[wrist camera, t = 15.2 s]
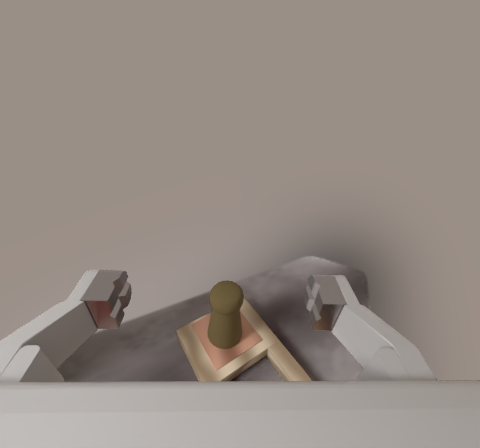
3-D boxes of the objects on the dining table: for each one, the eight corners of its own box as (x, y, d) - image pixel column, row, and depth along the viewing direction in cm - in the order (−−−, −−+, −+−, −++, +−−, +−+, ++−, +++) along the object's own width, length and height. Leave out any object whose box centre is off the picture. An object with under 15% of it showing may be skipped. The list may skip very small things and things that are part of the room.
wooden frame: (249, 486, 29) (251, 481, 28) (177, 337, 44) (176, 329, 42) (326, 409, 36) (331, 402, 35) (241, 303, 51) (242, 294, 49)
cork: (199, 335, 42) (197, 293, 35) (221, 310, 46) (223, 269, 39) (228, 356, 39) (231, 315, 33) (248, 328, 43) (255, 287, 37)
